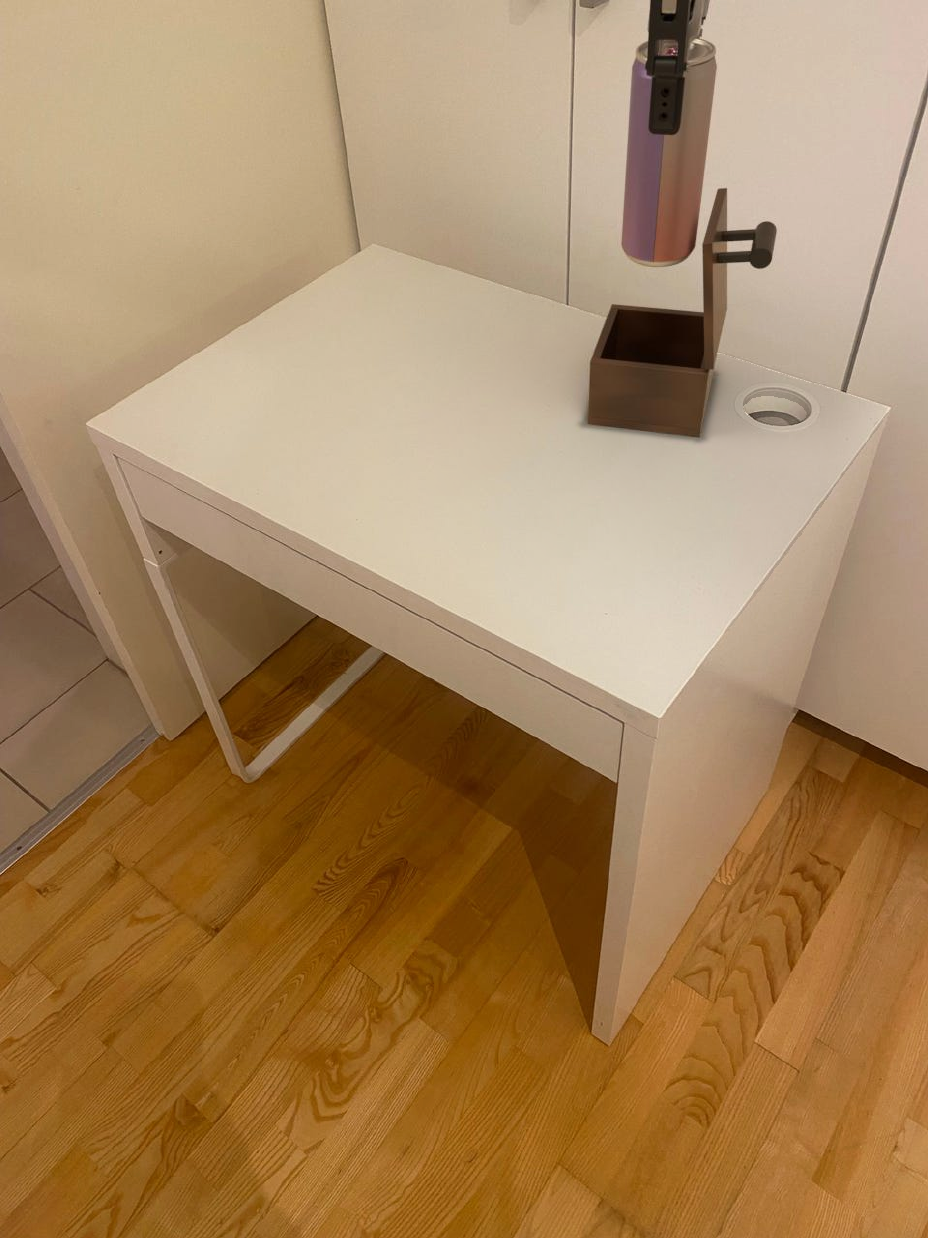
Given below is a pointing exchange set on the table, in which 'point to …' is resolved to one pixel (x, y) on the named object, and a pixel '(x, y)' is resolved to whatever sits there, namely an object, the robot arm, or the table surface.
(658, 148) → the beverage can
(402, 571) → the table surface
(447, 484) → the table surface
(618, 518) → the table surface
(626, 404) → the chest
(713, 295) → the lid
